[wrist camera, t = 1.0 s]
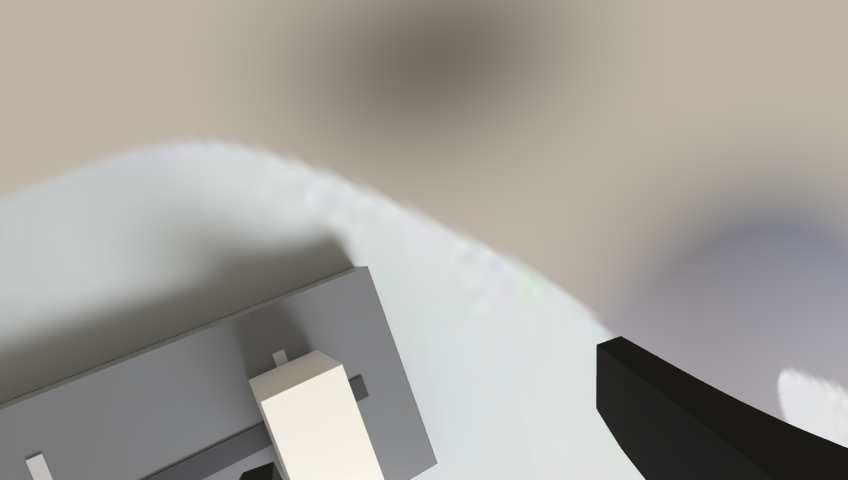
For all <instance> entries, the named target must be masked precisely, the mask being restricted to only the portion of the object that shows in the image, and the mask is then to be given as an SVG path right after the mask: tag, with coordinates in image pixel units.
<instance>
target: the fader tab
mask: <svg viewBox="0 0 848 480" xmlns="http://www.w3.org/2000/svg"><path fill="white" fill-rule="evenodd" d="M248 381H249V383H250V386H251V388H252V391H253V394H254V396H255V399H256V402H257V404H258V407H259V409H260V412H261V415H262V417H263V420H264V422H265V425H266V428H267V430H268V433H269V435H270V438H271V441H272V443H273V446H274V448H275V451H276V454H277V456H278V459H279V461H280V464H281V467H282V469H283V472H284V475H285V477H286V480H384V477H383V474H382V472H381V469H380V466H379V463H378V461H377V458H376V455H375V453H374V450H373V447H372V444H371V442H370V439H369V436H368V433H367V431H366V428H365V425H364V422H363V420H362V417H361V414H360V412H359V409H358V406H357V403H356V401H355V398H354V395H353V392H352V390H351V387H350V384H349V381H348V379H347V376H346V373H345V371H344V368H343V365H342V364H341V363H339V362H337V361H336V360H334V359H332V358H331V357H329V356H327V355H326V354H324V353H322V352H321V351H319V350H315V351H313V352H311V353H308V354H306V355H304V356H302V357H299V358H297V359H295V360H293V361H290V362H288V363H286V364H284V365H281V366H279V367H277V368H275V369H272V370H270V371H268V372H266V373H263V374H261V375H259V376H256V377H254V378H252V379H250V380H248Z"/></svg>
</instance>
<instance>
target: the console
mask: <svg viewBox="0 0 848 480" xmlns="http://www.w3.org/2000/svg"><path fill="white" fill-rule="evenodd" d="M315 350H319V351H321V352H322V353H324V354H326V355H327V356H329V357H331V358H332V359H334V360H336V361H337V362H339V363H341V364H342V365H343V368H344V371H345V373H346V376H347V379H348V381H349V384H350V387H351V390H352V392H353V395H354V398H355V401H356V403H357V406H358V409H359V412H360V414H361V417H362V420H363V422H364V425H365V428H366V431H367V433H368V436H369V439H370V442H371V444H372V447H373V450H374V453H375V455H376V458H377V461H378V463H379V466H380V469H381V472H382V474H383V477H384V480H410V479H412V478H414V477H415V476H417V475H419V474H420V473H422V472H424V471H425V470H427V469H429V468H430V467H432V466H434V465H435V464H437V461H436V458H435V455H434V452H433V449H432V446H431V444H430V441H429V438H428V435H427V432H426V430H425V427H424V424H423V421H422V418H421V415H420V413H419V410H418V407H417V404H416V401H415V399H414V396H413V393H412V390H411V387H410V384H409V382H408V379H407V376H406V373H405V370H404V368H403V365H402V362H401V359H400V356H399V354H398V351H397V348H396V345H395V342H394V339H393V337H392V334H391V331H390V328H389V325H388V323H387V320H386V317H385V314H384V311H383V308H382V306H381V303H380V300H379V297H378V294H377V292H376V289H375V286H374V283H373V280H372V277H371V275H370V272H369V269H368V266H364V267H353V268H351V269H348V270H345V271H343V272H340V273H338V274H335V275H333V276H330V277H327V278H325V279H322V280H320V281H317V282H314V283H312V284H309V285H307V286H304V287H302V288H299V289H296V290H294V291H291V292H289V293H286V294H283V295H281V296H278V297H276V298H273V299H271V300H268V301H265V302H263V303H260V304H258V305H255V306H252V307H250V308H247V309H245V310H242V311H240V312H237V313H234V314H232V315H229V316H227V317H224V318H221V319H219V320H216V321H214V322H211V323H209V324H206V325H203V326H201V327H198V328H196V329H193V330H190V331H188V332H185V333H183V334H180V335H178V336H175V337H172V338H170V339H167V340H165V341H162V342H159V343H157V344H154V345H152V346H149V347H147V348H144V349H141V350H139V351H136V352H134V353H131V354H128V355H126V356H123V357H121V358H118V359H116V360H113V361H110V362H108V363H105V364H103V365H100V366H97V367H95V368H92V369H90V370H87V371H84V372H82V373H79V374H77V375H74V376H72V377H69V378H66V379H64V380H61V381H59V382H56V383H53V384H51V385H48V386H46V387H43V388H41V389H38V390H35V391H33V392H30V393H28V394H25V395H22V396H20V397H17V398H15V399H12V400H10V401H7V402H4V403H2V404H0V480H239V478H240V476H241V475H242V473H243V472H246V471H248V470H251V469H254V468H257V467H259V466H262V465H265V464H268V463H270V462H273V461H274V463H275V465H276V467H277V469H278V471H279V473H280V475H281V477H282V479H283V480H286V477H285V475H284V472H283V469H282V467H281V464H280V461H279V459H278V456H277V454H276V451H275V448H274V446H273V443H272V441H271V438H270V435H269V433H268V430H267V428H266V425H265V422H264V420H263V417H262V415H261V412H260V409H259V407H258V404H257V402H256V399H255V396H254V394H253V391H252V388H251V386H250V383H249V381H248V380H250V379H252V378H254V377H256V376H259V375H261V374H263V373H266V372H268V371H270V370H272V369H275V368H277V367H279V366H281V365H284V364H286V363H288V362H290V361H293V360H295V359H297V358H299V357H302V356H304V355H306V354H308V353H311V352H313V351H315Z"/></svg>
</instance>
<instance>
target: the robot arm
mask: <svg viewBox="0 0 848 480" xmlns="http://www.w3.org/2000/svg"><path fill="white" fill-rule="evenodd" d="M596 408H597V410H598V412H599V413H600V415H601V417H602V418H603V420H604V422H605V423H606V425H607V427H608V428H609V430H610V432H611V433H612V435H613V436H614V438H615V439H616V441H617V442H618V444H619V446H620V447H621V449H622V450H623V451H624V453H625V454H626V455H627V457H628V458H629V459H630V460H631V462H632V463H633V464H634V465H635V467H636V468H637V469H638V471H639V472H640V473H641V474H642V476H643V477H644V478H645V479H646V480H848V448H846V447H844V446H841V445H839V444H836V443H834V442H831V441H829V440H826V439H824V438H821V437H819V436H817V435H814V434H812V433H809V432H807V431H804V430H802V429H800V428H797V427H795V426H793V425H790V424H788V423H786V422H784V421H781V420H779V419H777V418H775V417H773V416H771V415H769V414H766V413H764V412H762V411H760V410H758V409H756V408H754V407H752V406H750V405H747V404H745V403H743V402H741V401H739V400H737V399H735V398H733V397H731V396H729V395H727V394H725V393H724V392H722V391H720V390H718V389H716V388H714V387H712V386H710V385H708V384H706V383H704V382H703V381H701V380H699V379H697V378H695V377H693V376H691V375H690V374H688V373H686V372H684V371H682V370H680V369H679V368H677V367H675V366H673V365H672V364H670V363H668V362H666V361H664V360H663V359H661V358H659V357H657V356H655V355H654V354H652V353H650V352H648V351H647V350H645V349H643V348H641V347H640V346H638V345H636V344H634V343H633V342H631V341H629V340H627V339H625V338H623V337H622V336H620V337H617V338H614V339H611V340H609V341H606V342H603V343H600V344H598V345H597V377H596ZM239 480H283V479H282V477H281V475H280V473H279V471H278V469H277V467H276V465H275V463H274V461H273V462H270V463H268V464H265V465H262V466H259V467H257V468H254V469H251V470H248V471H246V472H243V473H242V475H241V476H240V478H239Z"/></svg>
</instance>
